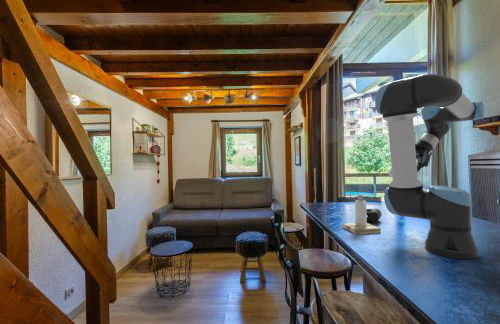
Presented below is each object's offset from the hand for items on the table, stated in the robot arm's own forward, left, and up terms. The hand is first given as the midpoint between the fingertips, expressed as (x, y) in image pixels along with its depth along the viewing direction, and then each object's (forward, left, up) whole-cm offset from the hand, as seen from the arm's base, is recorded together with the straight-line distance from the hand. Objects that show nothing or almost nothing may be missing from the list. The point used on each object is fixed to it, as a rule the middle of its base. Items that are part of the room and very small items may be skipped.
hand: (398, 175), depth 122 cm
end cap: (+13, +6, -26) cm, 30 cm away
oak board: (0, +21, -26) cm, 33 cm away
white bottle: (0, +21, -24) cm, 31 cm away
